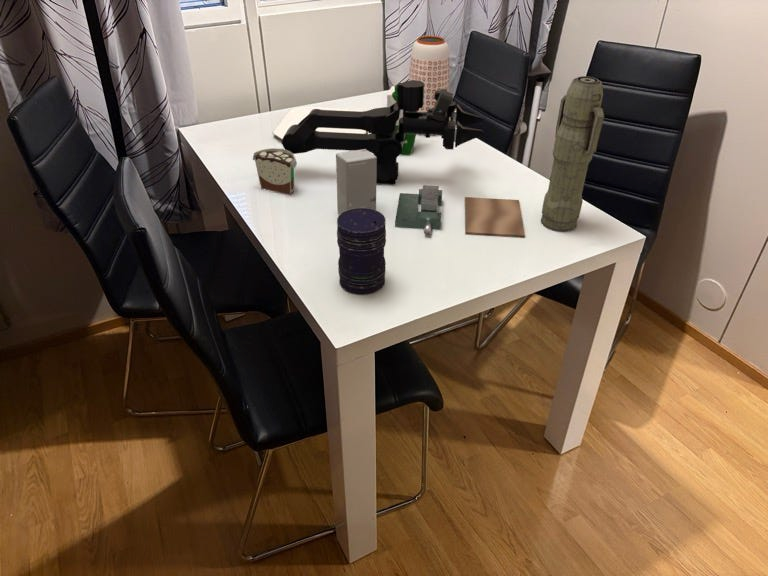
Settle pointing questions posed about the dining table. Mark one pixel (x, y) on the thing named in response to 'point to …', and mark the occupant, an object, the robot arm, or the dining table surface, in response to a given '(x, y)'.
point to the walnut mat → (493, 217)
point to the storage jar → (361, 250)
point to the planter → (430, 67)
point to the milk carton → (409, 138)
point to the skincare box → (356, 180)
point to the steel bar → (429, 198)
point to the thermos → (573, 152)
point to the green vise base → (416, 213)
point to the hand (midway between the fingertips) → (483, 126)
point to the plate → (300, 113)
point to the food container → (276, 170)
